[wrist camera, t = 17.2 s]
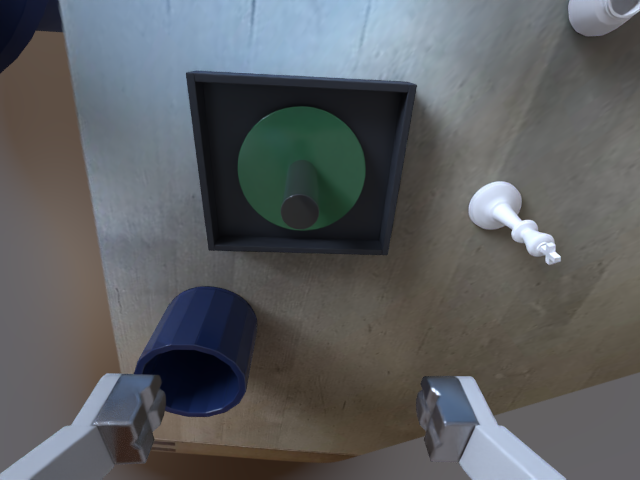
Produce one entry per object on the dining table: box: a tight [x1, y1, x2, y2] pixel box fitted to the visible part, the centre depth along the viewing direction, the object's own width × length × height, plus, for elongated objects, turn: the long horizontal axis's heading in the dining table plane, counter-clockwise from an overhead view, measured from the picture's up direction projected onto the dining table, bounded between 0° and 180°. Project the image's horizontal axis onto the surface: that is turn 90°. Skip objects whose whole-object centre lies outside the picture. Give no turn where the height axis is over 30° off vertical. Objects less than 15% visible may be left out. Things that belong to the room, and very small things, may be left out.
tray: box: [186, 71, 417, 255], centre depth 30 cm, size 17×15×3 cm
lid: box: [238, 106, 366, 231], centre depth 27 cm, size 11×11×9 cm
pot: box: [134, 286, 257, 417], centre depth 36 cm, size 10×10×8 cm
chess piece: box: [468, 181, 561, 265], centre depth 29 cm, size 5×5×10 cm
